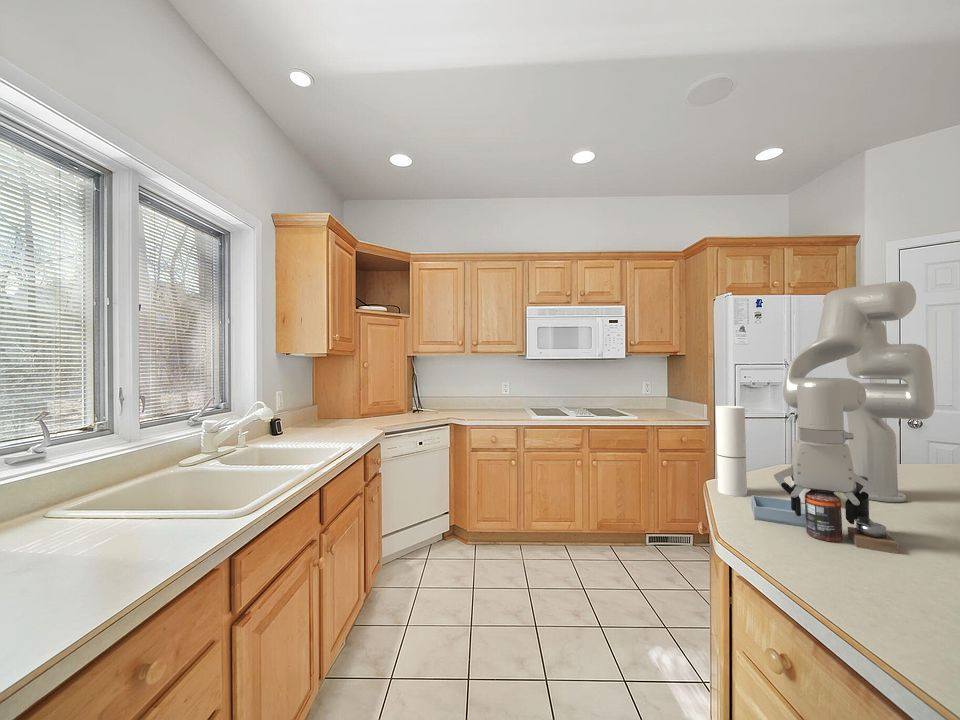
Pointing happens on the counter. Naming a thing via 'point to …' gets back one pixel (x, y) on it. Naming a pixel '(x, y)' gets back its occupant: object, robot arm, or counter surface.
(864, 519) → the crank
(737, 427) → the cylindrical container
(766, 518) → the tray
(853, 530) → the crank base
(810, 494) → the supplement bottle
